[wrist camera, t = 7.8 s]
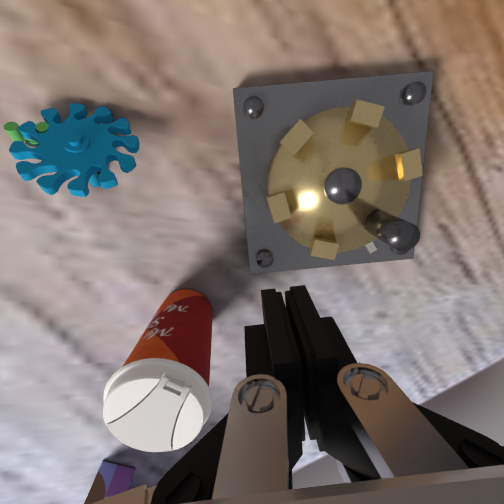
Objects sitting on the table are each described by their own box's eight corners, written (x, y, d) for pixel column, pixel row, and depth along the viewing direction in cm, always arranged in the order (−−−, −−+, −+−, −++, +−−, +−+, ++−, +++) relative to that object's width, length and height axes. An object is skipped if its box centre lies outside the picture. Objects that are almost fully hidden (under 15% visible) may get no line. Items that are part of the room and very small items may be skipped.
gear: (156, 119, 27) (99, 203, 22) (163, 164, 32) (118, 239, 28) (41, 79, 27) (-40, 155, 22) (67, 131, 32) (6, 201, 28)
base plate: (233, 92, 28) (232, 87, 26) (420, 76, 28) (437, 69, 26) (249, 267, 34) (250, 276, 32) (403, 252, 34) (416, 260, 32)
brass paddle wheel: (237, 185, 29) (237, 197, 22) (336, 73, 26) (370, 46, 19) (329, 269, 32) (354, 301, 25) (425, 177, 29) (482, 186, 22)
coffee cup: (172, 267, 34) (125, 353, 19) (234, 300, 35) (231, 402, 21) (140, 321, 36) (76, 435, 22) (200, 350, 37) (176, 472, 23)
